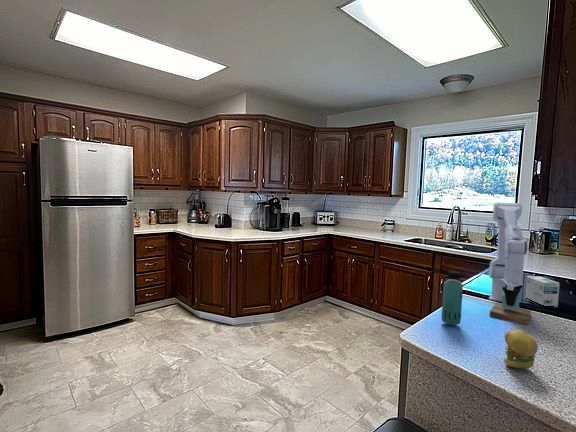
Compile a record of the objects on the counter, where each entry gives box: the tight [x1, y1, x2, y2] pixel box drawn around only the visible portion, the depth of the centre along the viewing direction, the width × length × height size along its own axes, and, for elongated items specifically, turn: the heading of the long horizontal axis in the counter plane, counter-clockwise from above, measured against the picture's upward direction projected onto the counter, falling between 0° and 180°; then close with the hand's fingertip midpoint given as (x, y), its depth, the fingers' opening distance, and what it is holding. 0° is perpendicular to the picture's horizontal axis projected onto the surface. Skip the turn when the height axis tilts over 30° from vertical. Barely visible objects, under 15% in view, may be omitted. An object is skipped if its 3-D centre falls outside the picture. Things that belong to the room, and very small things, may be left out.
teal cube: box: [501, 293, 521, 311], centre depth 125 cm, size 5×5×5 cm
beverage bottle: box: [441, 270, 464, 326], centre depth 115 cm, size 6×7×20 cm
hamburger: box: [503, 329, 539, 369], centre depth 88 cm, size 8×7×12 cm
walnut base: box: [489, 302, 532, 326], centre depth 125 cm, size 12×12×2 cm
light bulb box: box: [525, 275, 561, 308], centre depth 141 cm, size 11×7×11 cm, turn 179°
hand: (511, 303), depth 125 cm, fingers closed on teal cube, 5 cm apart
